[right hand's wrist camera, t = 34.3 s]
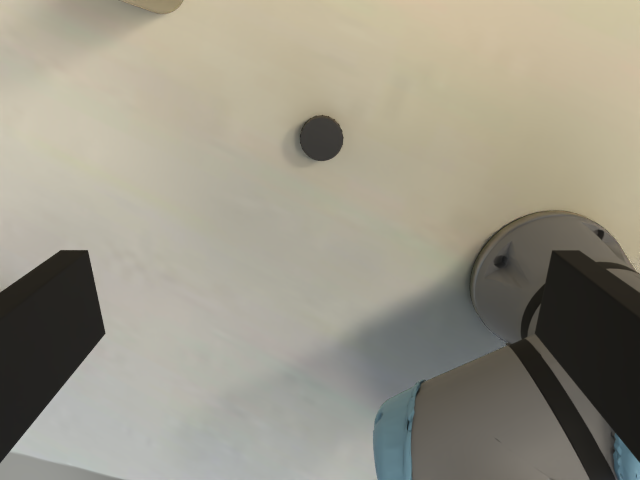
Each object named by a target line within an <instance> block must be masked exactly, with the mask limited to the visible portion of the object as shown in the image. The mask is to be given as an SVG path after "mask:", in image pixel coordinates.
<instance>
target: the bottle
mask: <svg viewBox="0 0 640 480" xmlns="http://www.w3.org/2000/svg"><path fill="white" fill-rule="evenodd" d="M120 1H122V2H125V3H128V4H131V5H134V6H137V7H140V8H143V9H146V10H149V11H152V12H155V13H159V14H166V13H170V12H172V11H174V10H176V9H177V8H178V7H179V6H180V5H181V3H182V2H183V0H120Z"/></svg>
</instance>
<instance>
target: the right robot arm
mask: <svg viewBox="0 0 640 480" xmlns="http://www.w3.org/2000/svg"><path fill="white" fill-rule="evenodd" d="M470 294H471V299H472V303H473V305H474V308H475V310H476V312H477V314H478V315H479V317H480V318H481V320H482V321H483V323H484V324H485V325H486V326H487V327H488V329H489V330H491V331H492V332H493V333H494V334H495V335H496V336H497V337H499V338H500V339H502V340H504V341H505V342H507V343H506V345H507V346H505V347H503V348H501V349H498V350H496V351H494V352H492V353H489V354H487V355H485V356H482V357H480V358H478V359H476V360H473V361H471V362H469V363H466V364H464V365H462V366H459V367H457V368H455V369H453V370H450V371H448V372H446V373H443V374H441V375H439V376H436V377H434V378H432V379H430V380H427V381H426V380H421V381H419V382H417V383H416V384H415V386H414V387H412V388H410V389H408V390H406V391H404V392H402V393H400V394H398V395H396V396H394V397H392V398H390V399H388V400H387V401H386V402H385V403H384V404H383V405H382V406H381V407H380V409H379V410H378V413H377V415H376V418H375V424H374V431H373V449H374V459H375V467H376V473H377V479H378V480H640V274H639V273H638V272H636V271H635V269H634V268H633V266H632V264H631V263H630V261H629V260H628V258H627V256H626V255H625V253H624V251H623V250H622V248H621V247H620V245H619V243H618V242H617V241H616V239H615V238H614V237H613V236H612V235H611V234H610V233H609V232H608V231H607V230H606V229H604V228H603V227H602V226H600V225H599V224H597V223H595V222H594V221H592V220H590V219H588V218H586V217H584V216H582V215H579V214H576V213H572V212H566V211H545V212H539V213H534V214H531V215H528V216H525V217H522V218H520V219H518V220H516V221H514V222H512V223H510V224H509V225H507V226H506V227H504V228H503V229H501V230H500V231H499V232H498V233H497V234H495V235H494V236H493V237H492V238H491V239H490V240H489V241H488V243H487V244H486V245H485V246H484V248H483V249H482V251H481V252H480V254H479V256H478V257H477V259H476V261H475V264H474V266H473V270H472V273H471V278H470ZM104 335H105V329H104V324H103V320H102V315H101V310H100V305H99V301H98V296H97V291H96V286H95V282H94V277H93V272H92V267H91V263H90V258H89V253H88V250H60V251H59V252H58V253H56V254H55V255H53V256H52V257H50V258H49V259H48V260H46V261H45V262H43V263H42V264H40V265H39V266H38V267H36V268H35V269H33V270H32V271H30V272H29V273H28V274H26V275H25V276H23V277H22V278H20V279H19V280H18V281H16V282H15V283H13V284H12V285H10V286H9V287H8V288H6V289H5V290H3V291H2V292H0V463H1V461H2V460H3V459H4V458H5V456H6V455H7V454H8V453H9V452H10V450H11V449H12V448H13V447H14V445H15V444H16V443H17V442H18V440H19V439H20V438H21V437H22V436H23V434H24V433H25V432H26V431H27V429H28V428H29V427H30V426H31V424H32V423H33V422H34V421H35V420H36V418H37V417H38V416H39V415H40V413H41V412H42V411H43V410H44V408H45V407H46V406H47V405H48V404H49V402H50V401H51V400H52V399H53V397H54V396H55V395H56V394H57V392H58V391H59V390H60V389H61V388H62V386H63V385H64V384H65V383H66V381H67V380H68V379H69V378H70V376H71V375H72V374H73V373H74V371H75V370H76V369H77V368H78V367H79V365H80V364H81V363H82V362H83V360H84V359H85V358H86V357H87V355H88V354H89V353H90V352H91V351H92V349H93V348H94V347H95V346H96V344H97V343H98V342H99V341H100V339H101V338H102V337H103V336H104Z"/></svg>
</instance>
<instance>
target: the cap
mask: <svg viewBox="0 0 640 480" xmlns="http://www.w3.org/2000/svg"><path fill="white" fill-rule="evenodd" d="M301 131H302V132H301V135H300V144H301V146H302V149H303V150H304V152H305V153H306V154H307V155H308V156H309V157H310V158H312V159H314V160H318V161H325V160H329V159H331V158H333V157H334V156H336V155H337V154H338V152H339V151H340V149H341V147H342V145H343V134H342V129H341V128H340V126H339V124H338V123H337V122H336V121H335V119H332V118H330V117H329V116H323V115H322V116H316V117H313V118H310V120H308V121H307V122H306V123H305V125H304V127H303V128H302V130H301Z"/></svg>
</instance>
